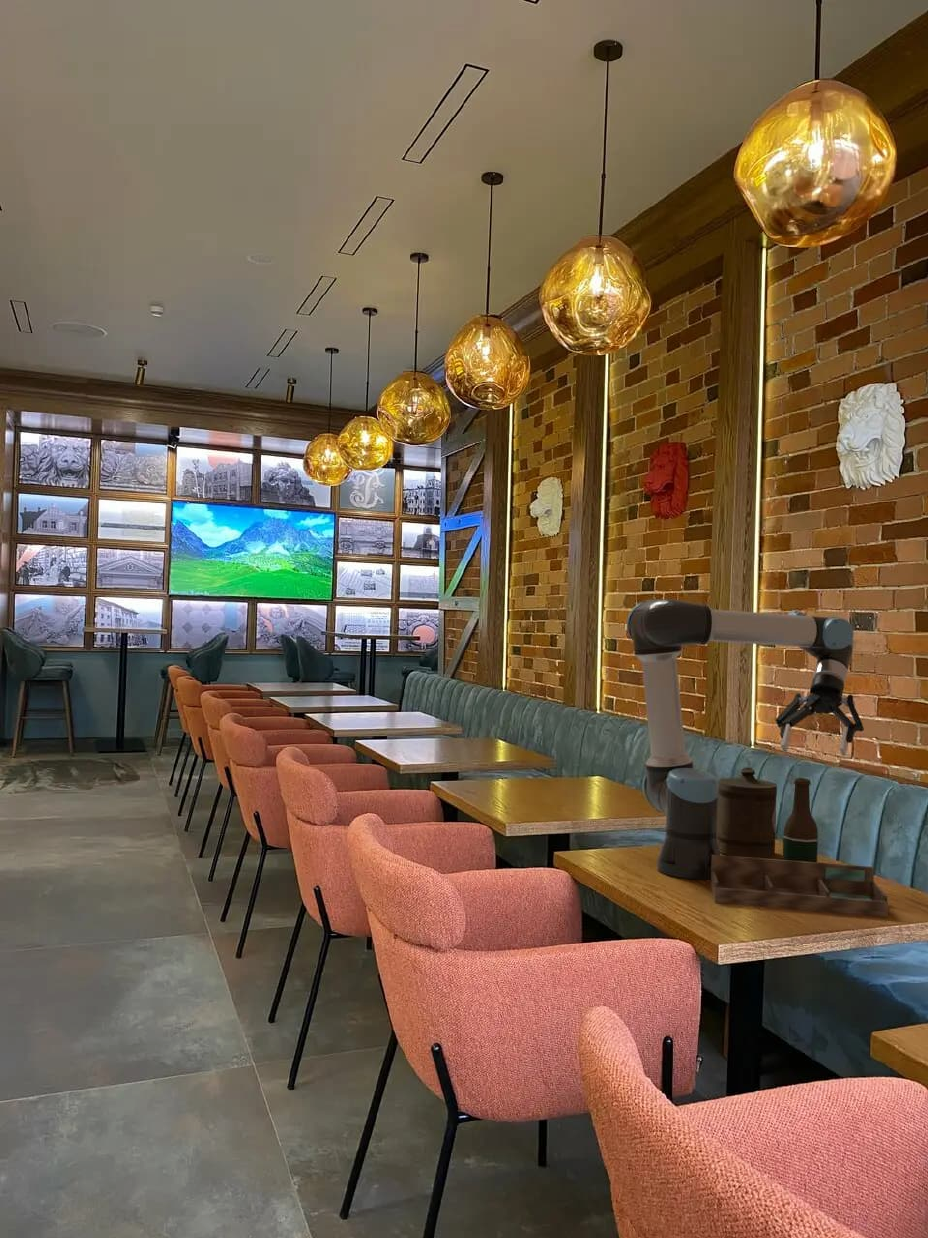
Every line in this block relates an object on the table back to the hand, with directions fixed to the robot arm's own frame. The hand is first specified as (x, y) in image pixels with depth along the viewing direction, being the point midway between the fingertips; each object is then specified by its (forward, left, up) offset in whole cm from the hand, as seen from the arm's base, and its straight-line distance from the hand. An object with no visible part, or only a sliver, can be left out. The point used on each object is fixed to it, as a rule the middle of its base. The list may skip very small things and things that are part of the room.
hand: (812, 750), depth 222 cm
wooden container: (-13, +18, -30) cm, 37 cm away
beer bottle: (-4, -11, -30) cm, 32 cm away
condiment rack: (-7, -25, -29) cm, 39 cm away
